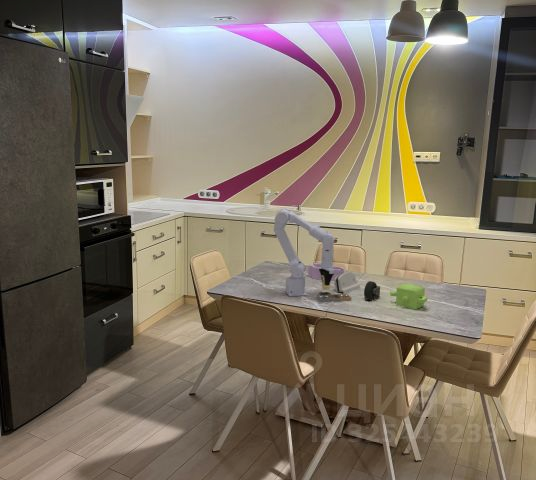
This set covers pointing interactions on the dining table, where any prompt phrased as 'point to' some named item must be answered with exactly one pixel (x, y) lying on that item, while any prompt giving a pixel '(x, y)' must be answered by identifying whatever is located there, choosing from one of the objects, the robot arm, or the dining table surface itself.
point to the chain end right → (343, 297)
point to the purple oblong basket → (315, 273)
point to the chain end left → (327, 298)
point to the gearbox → (410, 296)
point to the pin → (324, 284)
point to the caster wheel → (371, 290)
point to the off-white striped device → (346, 283)
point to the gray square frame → (324, 293)
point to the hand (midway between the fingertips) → (325, 284)
